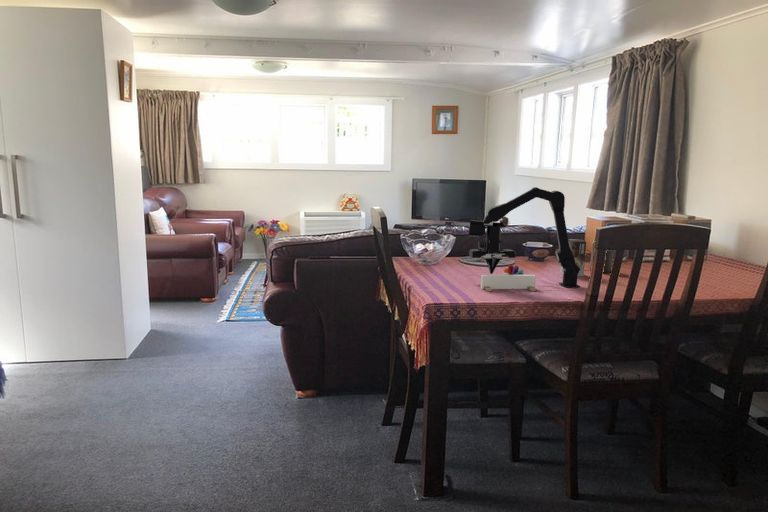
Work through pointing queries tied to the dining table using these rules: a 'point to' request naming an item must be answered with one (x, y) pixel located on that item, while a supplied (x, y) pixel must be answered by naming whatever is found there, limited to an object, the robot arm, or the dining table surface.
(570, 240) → the coffee box
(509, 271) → the pom poms
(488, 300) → the dining table surface
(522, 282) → the white rectangular box
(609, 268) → the pillar candle
